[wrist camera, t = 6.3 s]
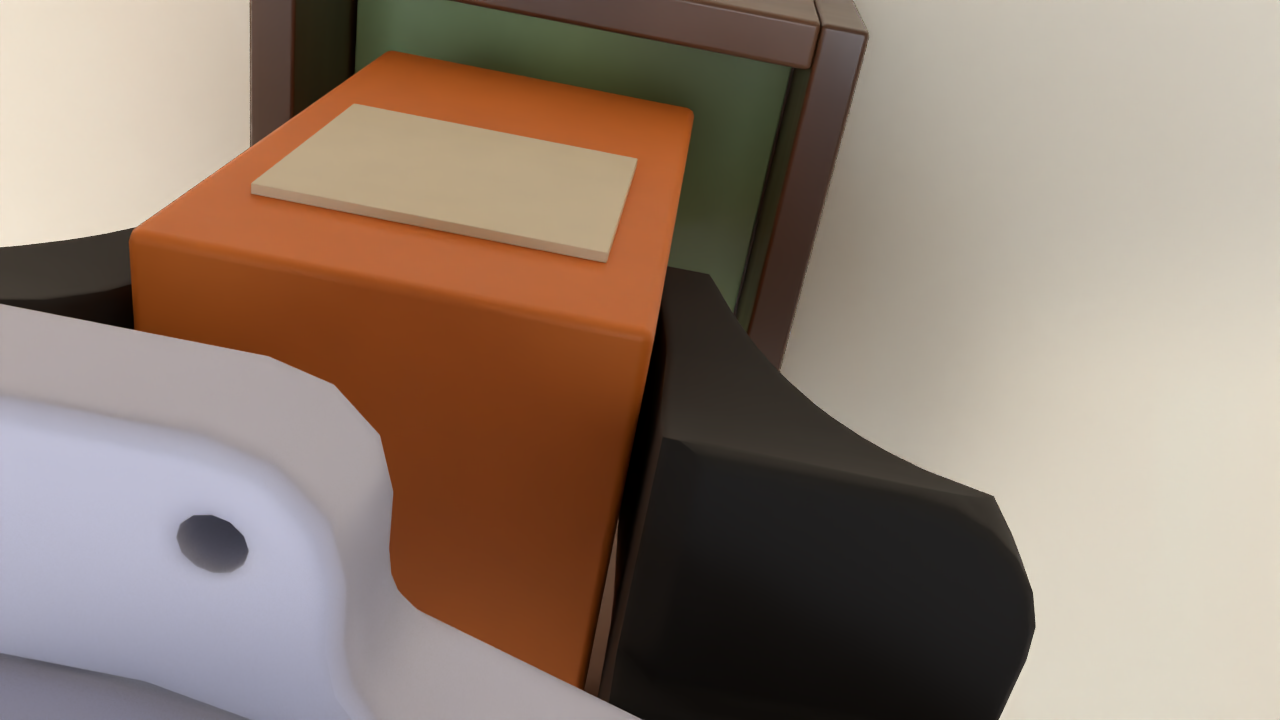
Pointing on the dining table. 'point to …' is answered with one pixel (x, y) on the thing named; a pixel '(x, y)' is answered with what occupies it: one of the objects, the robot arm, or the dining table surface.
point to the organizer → (640, 68)
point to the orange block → (453, 315)
